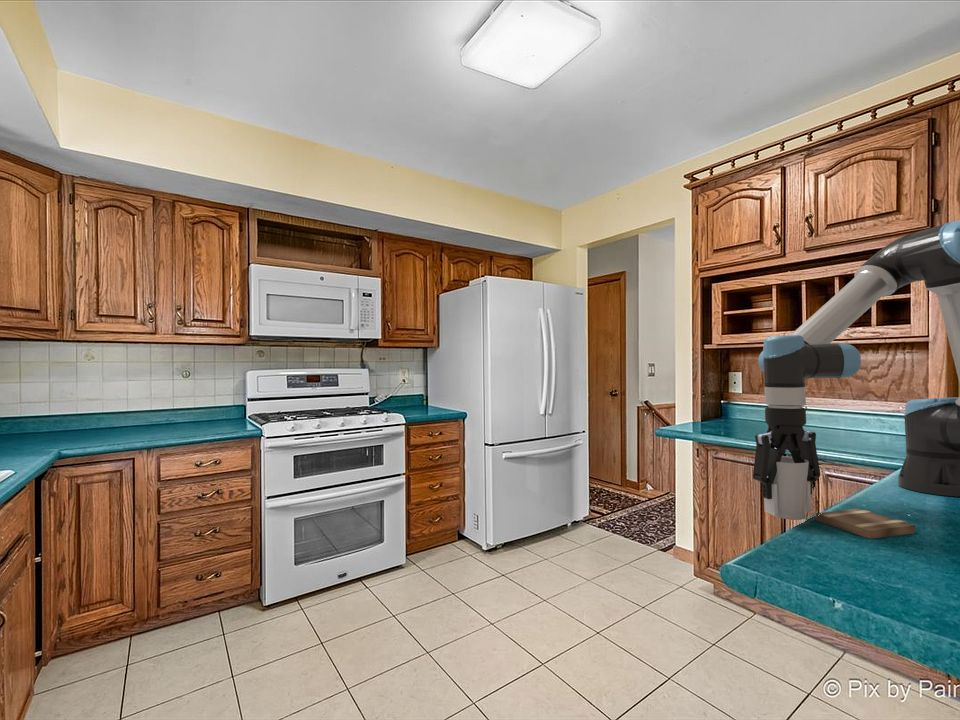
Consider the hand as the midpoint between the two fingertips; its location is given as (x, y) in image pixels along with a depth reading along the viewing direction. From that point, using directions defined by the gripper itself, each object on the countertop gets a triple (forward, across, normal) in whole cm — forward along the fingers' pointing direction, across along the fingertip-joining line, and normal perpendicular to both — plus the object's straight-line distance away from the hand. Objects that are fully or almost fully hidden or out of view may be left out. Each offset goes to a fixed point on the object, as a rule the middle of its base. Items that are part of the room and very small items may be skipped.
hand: (787, 511), depth 104 cm
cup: (+1, 0, 0) cm, 1 cm away
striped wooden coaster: (+1, -8, +10) cm, 13 cm away
